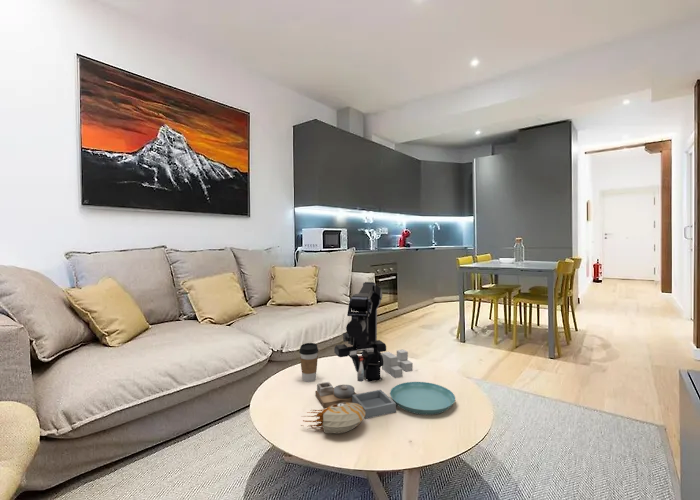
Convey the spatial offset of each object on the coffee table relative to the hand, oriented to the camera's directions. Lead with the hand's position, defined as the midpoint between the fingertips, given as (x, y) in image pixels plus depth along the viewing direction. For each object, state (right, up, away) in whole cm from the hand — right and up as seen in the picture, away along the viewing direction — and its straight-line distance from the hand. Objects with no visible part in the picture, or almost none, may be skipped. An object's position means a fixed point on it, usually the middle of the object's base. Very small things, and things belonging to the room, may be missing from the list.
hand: (360, 371), depth 134 cm
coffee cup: (-22, -12, +25) cm, 35 cm away
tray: (+5, -13, -1) cm, 14 cm away
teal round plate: (+23, -13, +3) cm, 27 cm away
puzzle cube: (+19, -12, +33) cm, 40 cm away
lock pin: (0, -4, 0) cm, 4 cm away
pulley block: (-9, -13, +6) cm, 17 cm away
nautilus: (-9, -14, -14) cm, 22 cm away
